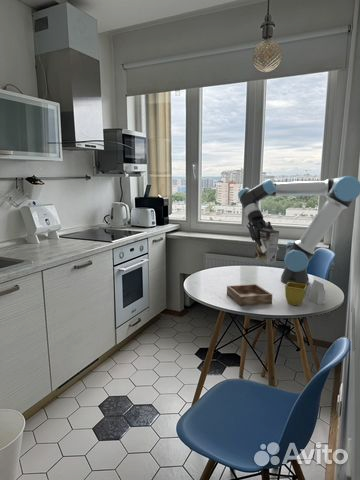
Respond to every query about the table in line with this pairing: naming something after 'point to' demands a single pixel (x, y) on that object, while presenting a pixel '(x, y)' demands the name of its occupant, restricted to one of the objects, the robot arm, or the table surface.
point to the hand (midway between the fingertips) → (270, 251)
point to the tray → (249, 295)
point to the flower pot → (295, 293)
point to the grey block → (317, 292)
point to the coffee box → (267, 245)
